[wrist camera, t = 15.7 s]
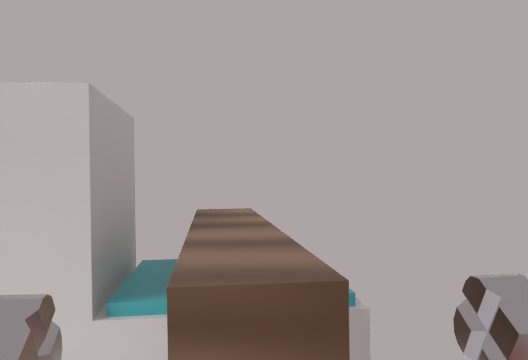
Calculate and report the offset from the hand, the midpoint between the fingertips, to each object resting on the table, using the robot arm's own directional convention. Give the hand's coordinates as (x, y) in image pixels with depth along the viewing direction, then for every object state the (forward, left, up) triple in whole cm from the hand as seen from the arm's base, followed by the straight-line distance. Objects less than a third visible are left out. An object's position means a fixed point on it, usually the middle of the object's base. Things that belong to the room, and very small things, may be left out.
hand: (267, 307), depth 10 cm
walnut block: (-4, +13, -3) cm, 14 cm away
